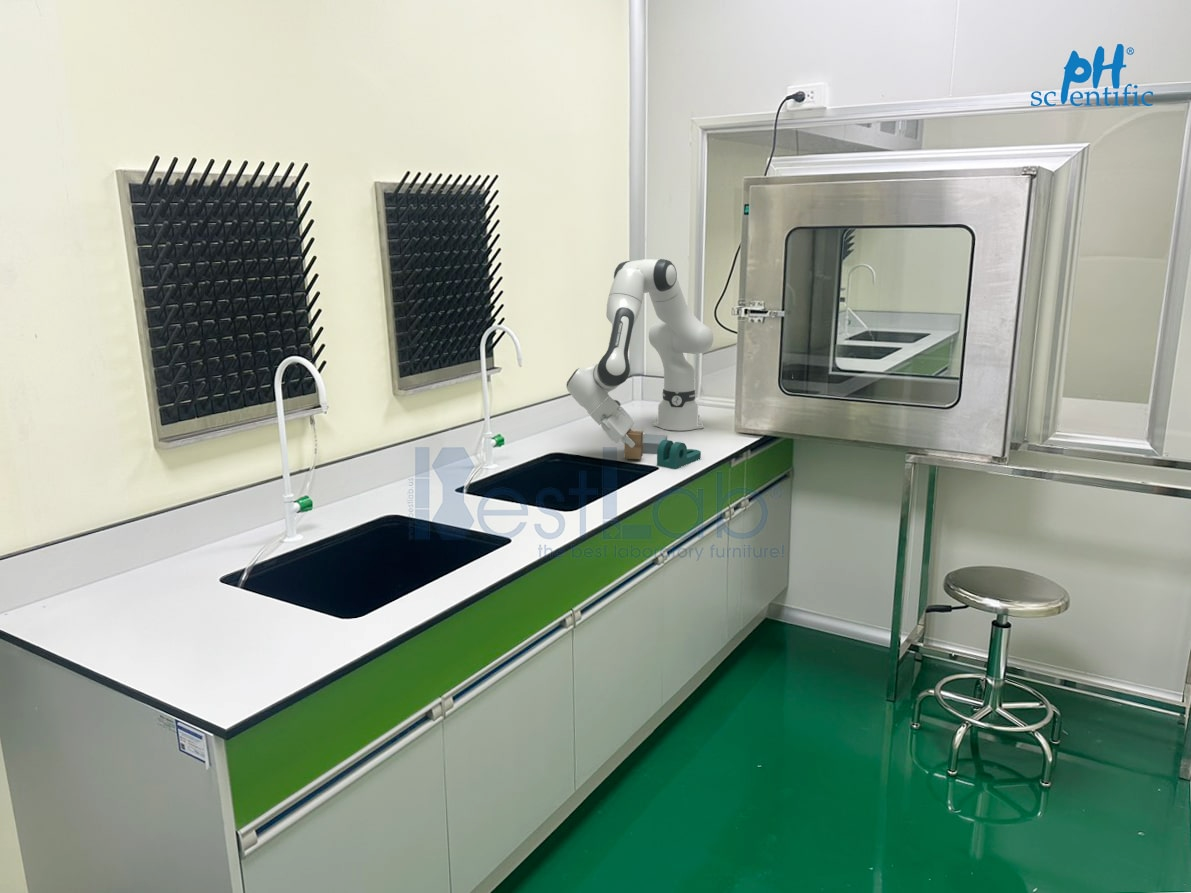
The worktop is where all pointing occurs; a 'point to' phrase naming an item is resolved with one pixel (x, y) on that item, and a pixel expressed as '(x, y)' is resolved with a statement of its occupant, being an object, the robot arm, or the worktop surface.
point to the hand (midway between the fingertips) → (635, 443)
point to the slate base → (652, 443)
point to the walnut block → (638, 448)
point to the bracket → (675, 454)
